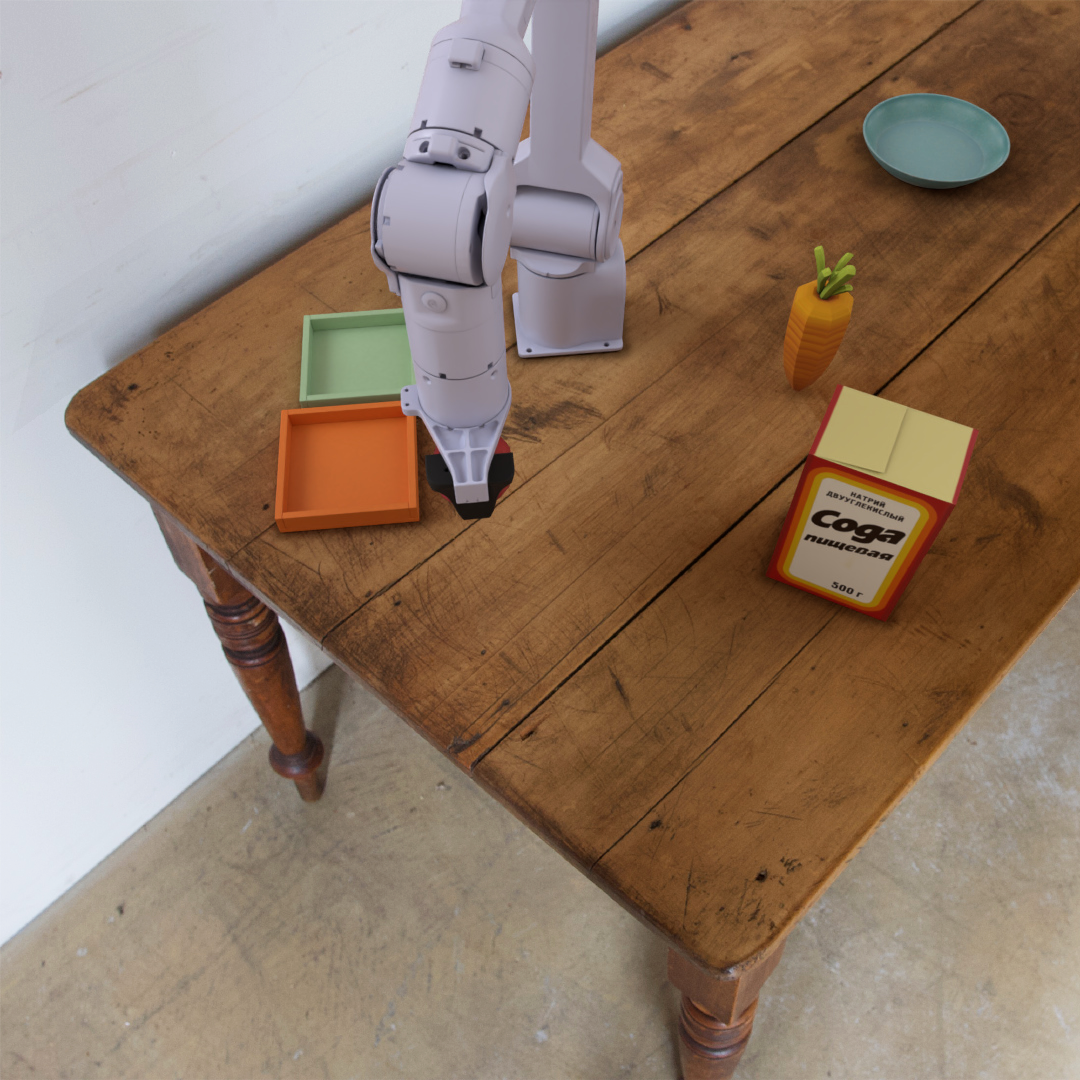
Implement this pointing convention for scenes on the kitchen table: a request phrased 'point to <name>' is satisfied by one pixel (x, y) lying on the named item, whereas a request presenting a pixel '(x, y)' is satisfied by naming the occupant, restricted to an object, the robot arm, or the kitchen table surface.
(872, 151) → the saucer
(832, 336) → the carrot
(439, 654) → the kitchen table surface
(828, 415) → the baking soda box
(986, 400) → the kitchen table surface
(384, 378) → the green tray
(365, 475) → the orange tray
